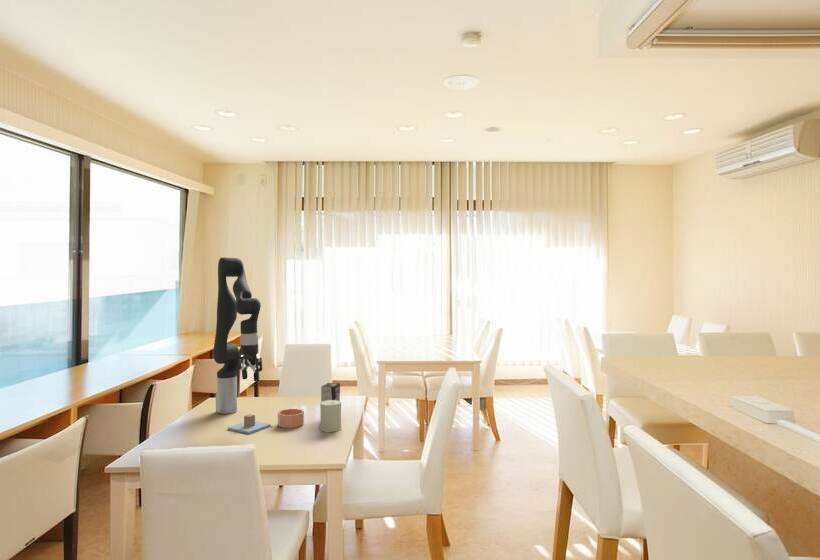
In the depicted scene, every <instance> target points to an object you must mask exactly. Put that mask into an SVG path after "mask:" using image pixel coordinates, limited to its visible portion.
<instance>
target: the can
mask: <svg viewBox="0 0 820 560" xmlns="http://www.w3.org/2000/svg"><path fill="white" fill-rule="evenodd" d="M319 404H320V405H319V406H320V408H319V409H320V424H319V425H320V427H319V429H320V431H321V432H325V433H333V432H334V431H335V432H338V431H341V430H342V401H341V400H340V401H338V400H326V401H322V402H321V401H320V403H319ZM340 429H341V430H340Z"/></svg>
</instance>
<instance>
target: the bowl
mask: <svg viewBox="0 0 820 560" xmlns="http://www.w3.org/2000/svg"><path fill="white" fill-rule="evenodd" d="M304 423H305V410H304V409H301V408H287V409H285V408H284V409H282V410H279V411H278V412H277V425H278V427H280V428H283V429H297V428H299V427H302V426H303V425H304Z"/></svg>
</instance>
